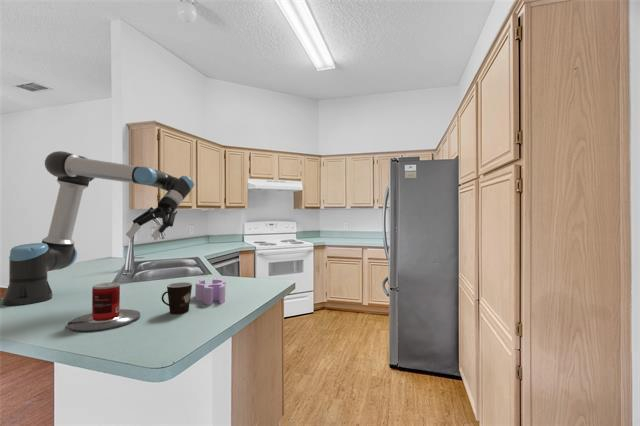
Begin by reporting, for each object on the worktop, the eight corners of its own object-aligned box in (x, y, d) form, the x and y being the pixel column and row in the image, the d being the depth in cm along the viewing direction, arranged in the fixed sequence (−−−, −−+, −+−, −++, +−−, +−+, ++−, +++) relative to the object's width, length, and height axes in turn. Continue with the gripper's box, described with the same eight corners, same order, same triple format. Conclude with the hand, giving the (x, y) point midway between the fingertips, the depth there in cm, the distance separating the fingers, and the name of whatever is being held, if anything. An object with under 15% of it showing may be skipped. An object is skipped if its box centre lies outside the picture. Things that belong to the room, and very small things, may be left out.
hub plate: (51, 327, 98) (51, 323, 98) (111, 309, 117) (111, 306, 117) (98, 335, 92) (98, 331, 92) (153, 315, 111) (153, 311, 111)
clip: (231, 302, 128) (232, 286, 129) (200, 306, 122) (200, 289, 122) (221, 292, 146) (221, 277, 146) (193, 295, 140) (193, 280, 140)
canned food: (114, 312, 110) (115, 281, 110) (123, 316, 105) (123, 284, 105) (88, 317, 104) (89, 284, 104) (96, 322, 99) (96, 288, 99)
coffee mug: (186, 307, 121) (186, 281, 121) (195, 311, 115) (196, 284, 115) (154, 313, 113) (154, 285, 113) (162, 318, 107) (162, 289, 107)
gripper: (196, 208, 139) (169, 244, 125) (153, 207, 147) (124, 241, 133) (188, 195, 134) (159, 231, 120) (144, 195, 143) (112, 229, 128)
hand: (140, 237), depth 127 cm, fingers open, 13 cm apart
